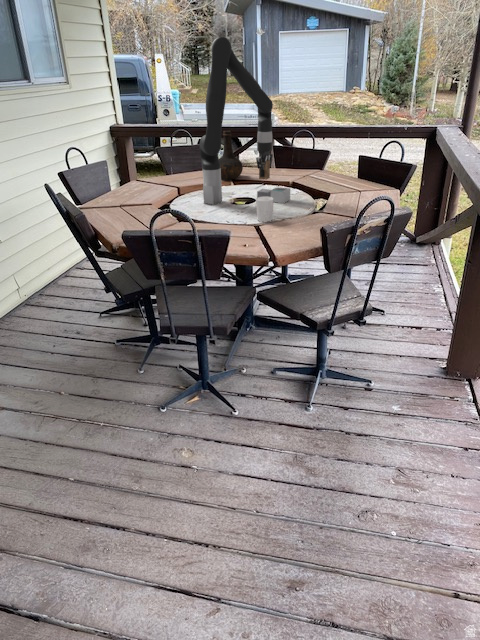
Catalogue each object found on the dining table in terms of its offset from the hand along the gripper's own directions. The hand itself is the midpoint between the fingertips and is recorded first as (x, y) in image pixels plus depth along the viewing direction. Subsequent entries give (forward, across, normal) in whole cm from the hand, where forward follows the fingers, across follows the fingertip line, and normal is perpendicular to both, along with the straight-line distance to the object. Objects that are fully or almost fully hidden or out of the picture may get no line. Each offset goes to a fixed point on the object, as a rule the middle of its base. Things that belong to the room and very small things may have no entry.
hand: (264, 175), depth 251 cm
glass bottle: (+12, +36, +44) cm, 58 cm away
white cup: (+13, -32, -18) cm, 39 cm away
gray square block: (+12, +1, 0) cm, 12 cm away
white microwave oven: (+12, +1, -9) cm, 15 cm away
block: (+1, 0, 0) cm, 1 cm away
